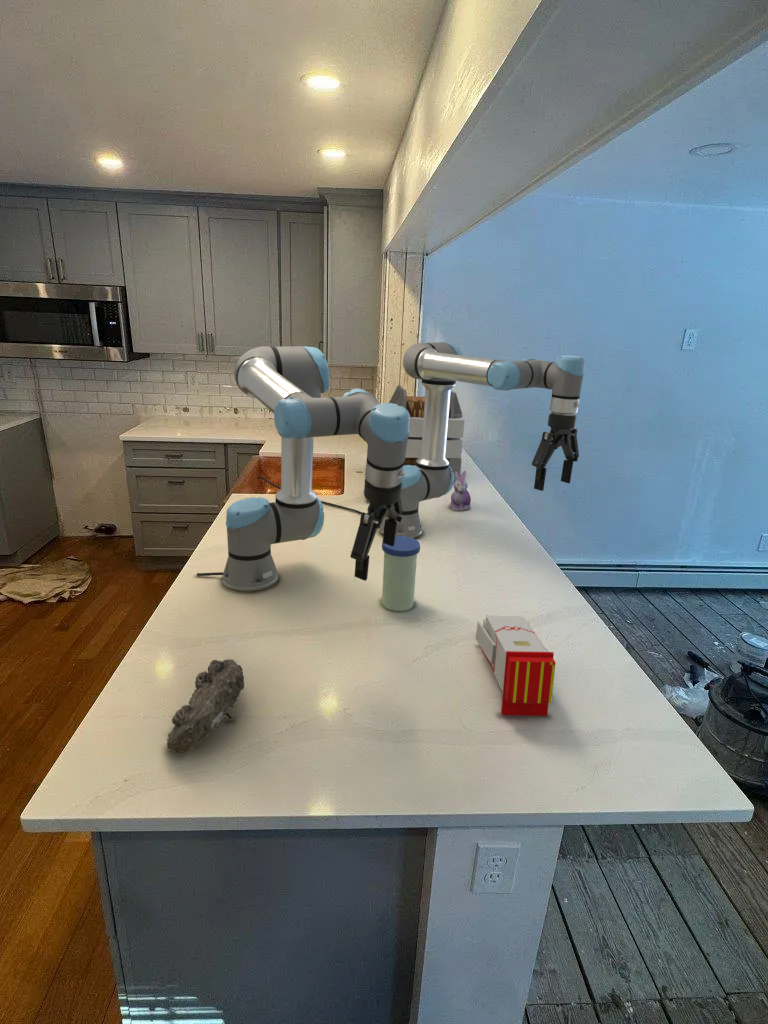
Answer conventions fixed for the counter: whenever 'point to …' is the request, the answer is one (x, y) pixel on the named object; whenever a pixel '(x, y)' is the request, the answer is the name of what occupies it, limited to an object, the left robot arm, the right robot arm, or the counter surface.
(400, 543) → the lid
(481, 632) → the toy
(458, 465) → the grey boxy piece
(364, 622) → the counter surface
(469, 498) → the figurine
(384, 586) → the jar
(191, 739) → the fossil
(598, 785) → the counter surface
